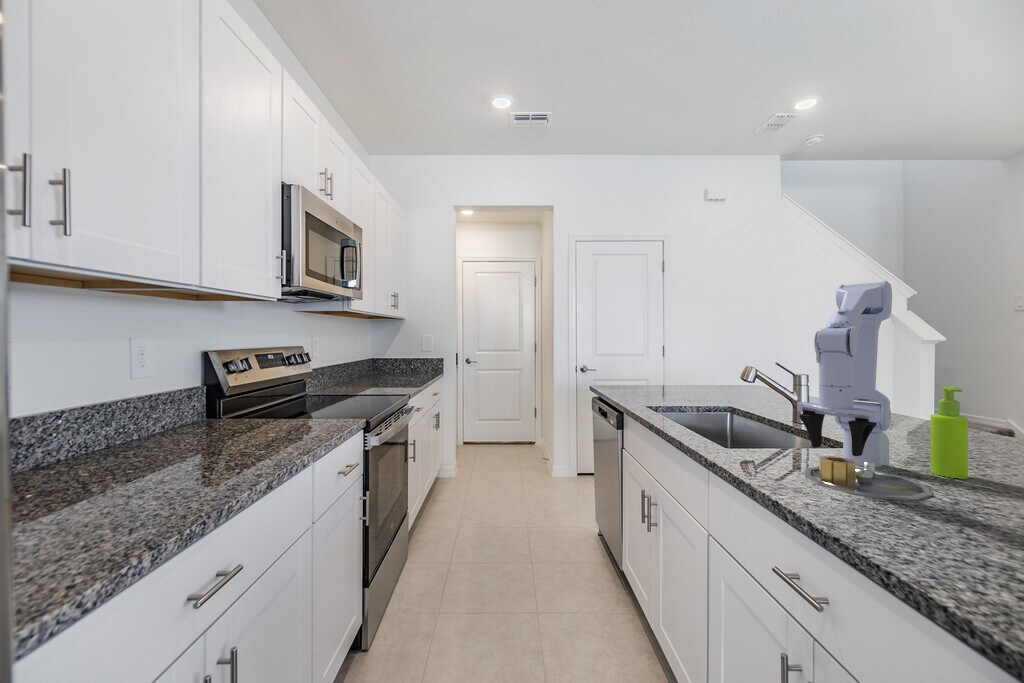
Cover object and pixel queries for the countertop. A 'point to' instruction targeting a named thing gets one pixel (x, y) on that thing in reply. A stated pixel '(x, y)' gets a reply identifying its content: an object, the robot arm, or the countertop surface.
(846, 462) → the gear
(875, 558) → the countertop surface
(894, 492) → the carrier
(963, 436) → the soap dispenser
